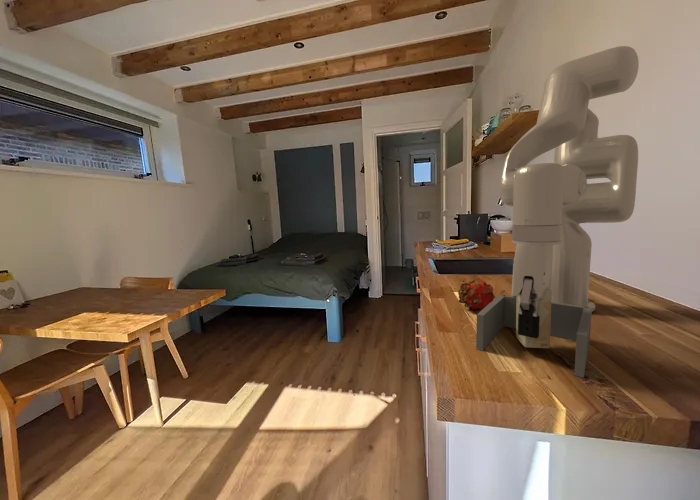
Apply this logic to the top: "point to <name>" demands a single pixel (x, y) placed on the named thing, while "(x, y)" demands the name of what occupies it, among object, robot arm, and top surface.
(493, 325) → the u-shaped wall
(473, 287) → the dragon fruit
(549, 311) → the box
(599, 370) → the top surface
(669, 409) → the top surface
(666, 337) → the top surface
